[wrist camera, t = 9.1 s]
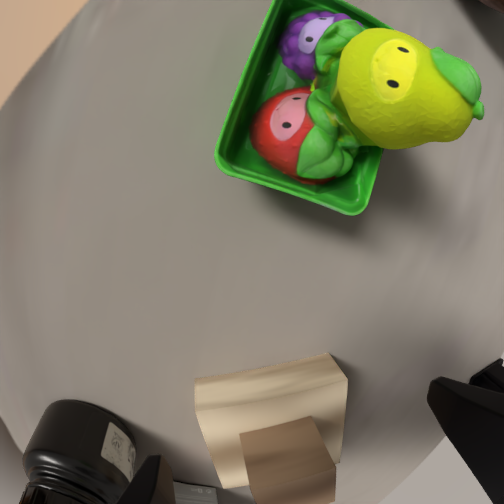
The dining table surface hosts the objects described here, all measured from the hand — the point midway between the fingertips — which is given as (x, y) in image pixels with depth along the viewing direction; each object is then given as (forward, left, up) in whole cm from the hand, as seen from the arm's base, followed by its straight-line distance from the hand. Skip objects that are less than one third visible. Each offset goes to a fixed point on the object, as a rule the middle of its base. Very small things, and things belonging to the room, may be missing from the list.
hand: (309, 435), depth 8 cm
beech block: (-11, 0, -13) cm, 17 cm away
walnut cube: (-11, 0, -9) cm, 14 cm away
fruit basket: (+11, -5, -12) cm, 17 cm away
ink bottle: (-11, +16, -12) cm, 23 cm away
